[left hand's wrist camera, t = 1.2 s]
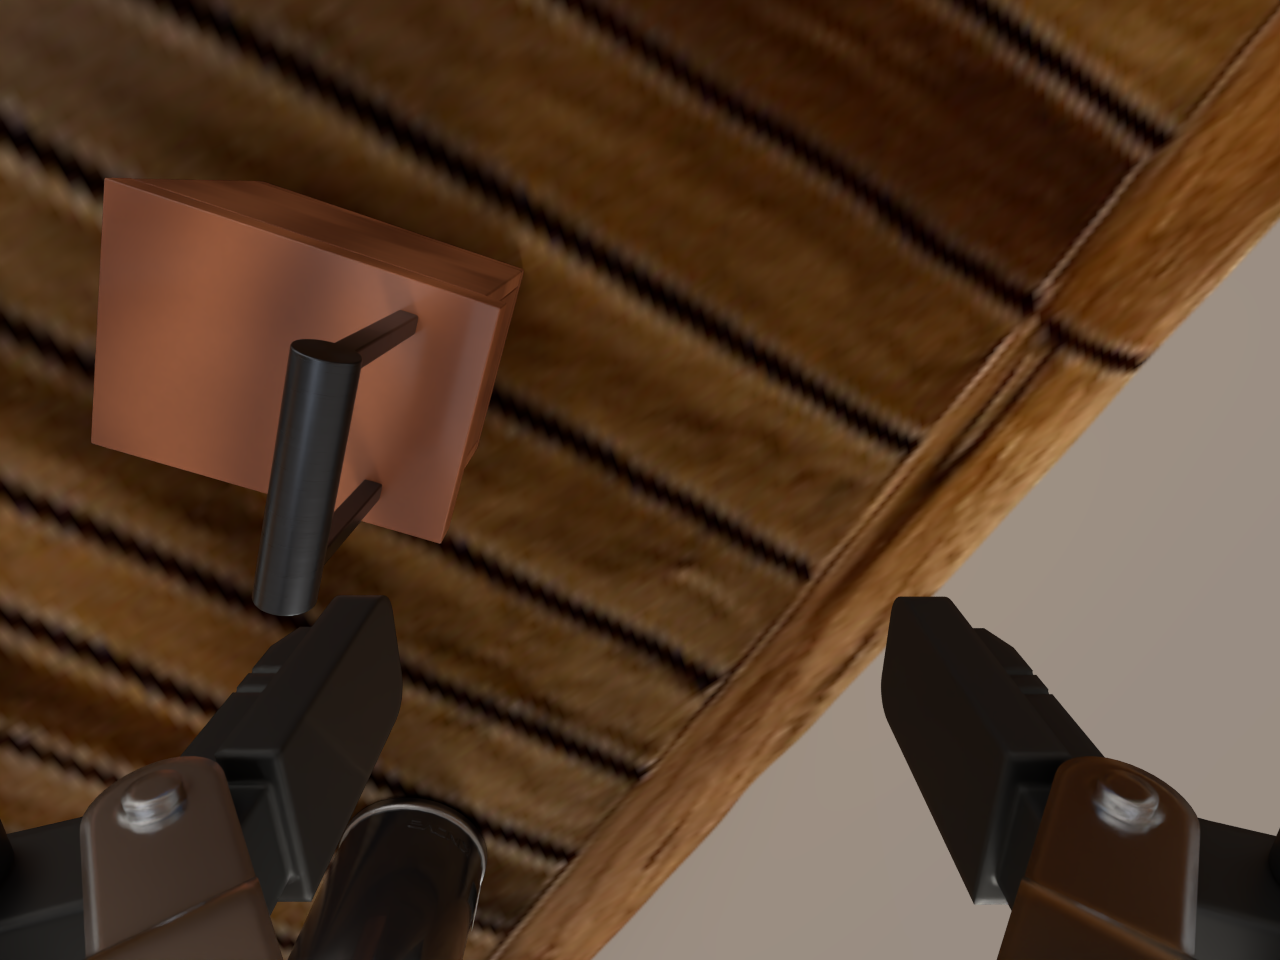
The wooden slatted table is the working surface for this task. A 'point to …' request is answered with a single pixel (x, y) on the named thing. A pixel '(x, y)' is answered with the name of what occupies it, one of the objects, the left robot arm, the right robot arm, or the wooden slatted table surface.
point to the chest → (366, 246)
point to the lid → (286, 376)
